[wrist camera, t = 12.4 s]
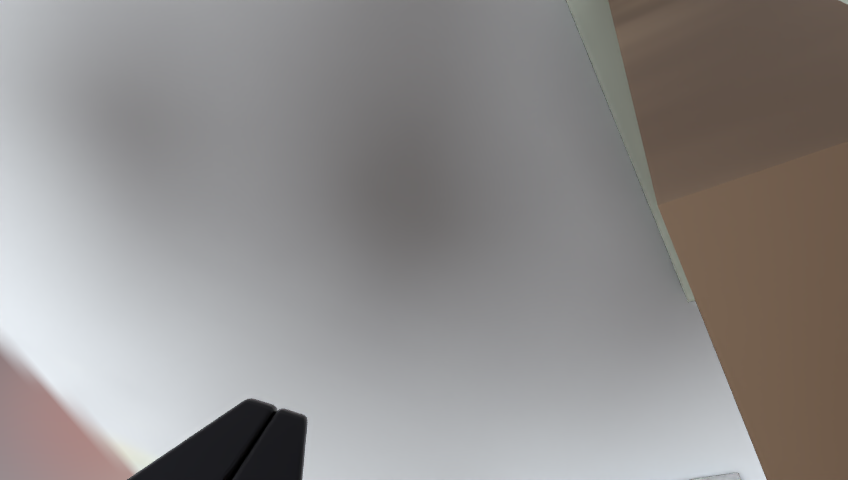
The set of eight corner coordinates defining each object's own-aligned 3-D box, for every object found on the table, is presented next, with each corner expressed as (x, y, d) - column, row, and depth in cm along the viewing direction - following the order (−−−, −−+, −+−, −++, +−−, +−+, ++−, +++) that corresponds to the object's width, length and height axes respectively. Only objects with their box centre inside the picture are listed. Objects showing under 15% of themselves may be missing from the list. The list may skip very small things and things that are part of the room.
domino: (692, 215, 13) (858, 709, 5) (603, -21, 11) (657, 205, 3) (777, 188, 12) (1108, 704, 5) (697, -66, 10) (1015, 83, 3)
